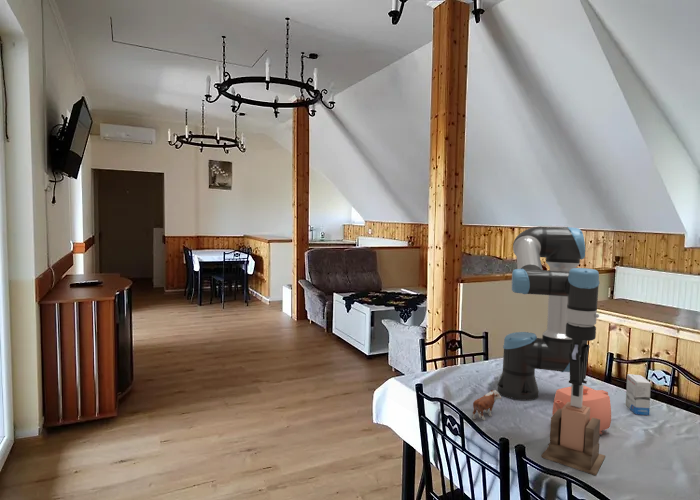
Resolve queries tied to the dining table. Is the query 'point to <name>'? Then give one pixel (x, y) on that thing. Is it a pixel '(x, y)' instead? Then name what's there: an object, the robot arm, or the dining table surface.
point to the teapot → (588, 404)
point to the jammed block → (574, 426)
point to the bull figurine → (485, 403)
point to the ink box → (638, 394)
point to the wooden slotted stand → (573, 458)
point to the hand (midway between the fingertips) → (576, 405)
